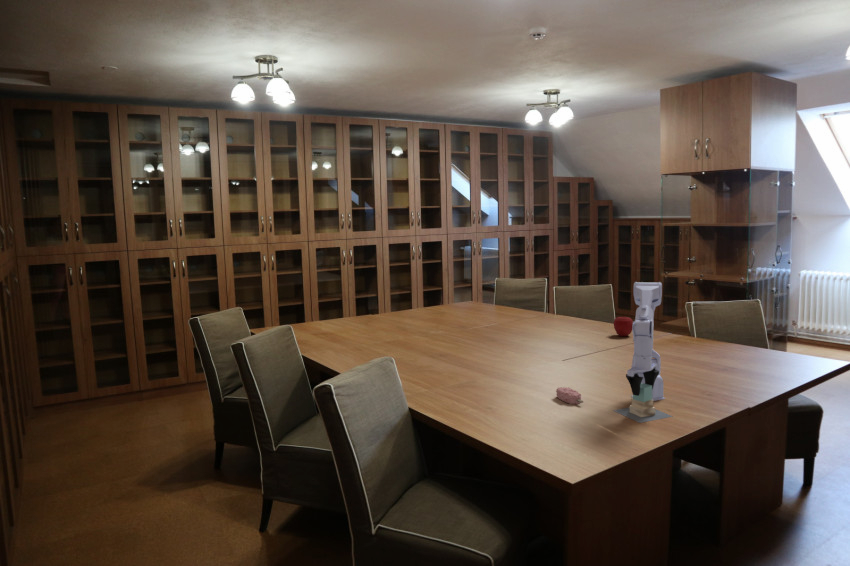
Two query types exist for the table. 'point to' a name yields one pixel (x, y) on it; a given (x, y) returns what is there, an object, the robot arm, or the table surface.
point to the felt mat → (642, 419)
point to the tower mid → (642, 404)
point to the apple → (623, 325)
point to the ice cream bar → (569, 395)
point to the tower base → (642, 411)
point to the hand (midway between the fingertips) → (642, 392)
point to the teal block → (644, 393)
